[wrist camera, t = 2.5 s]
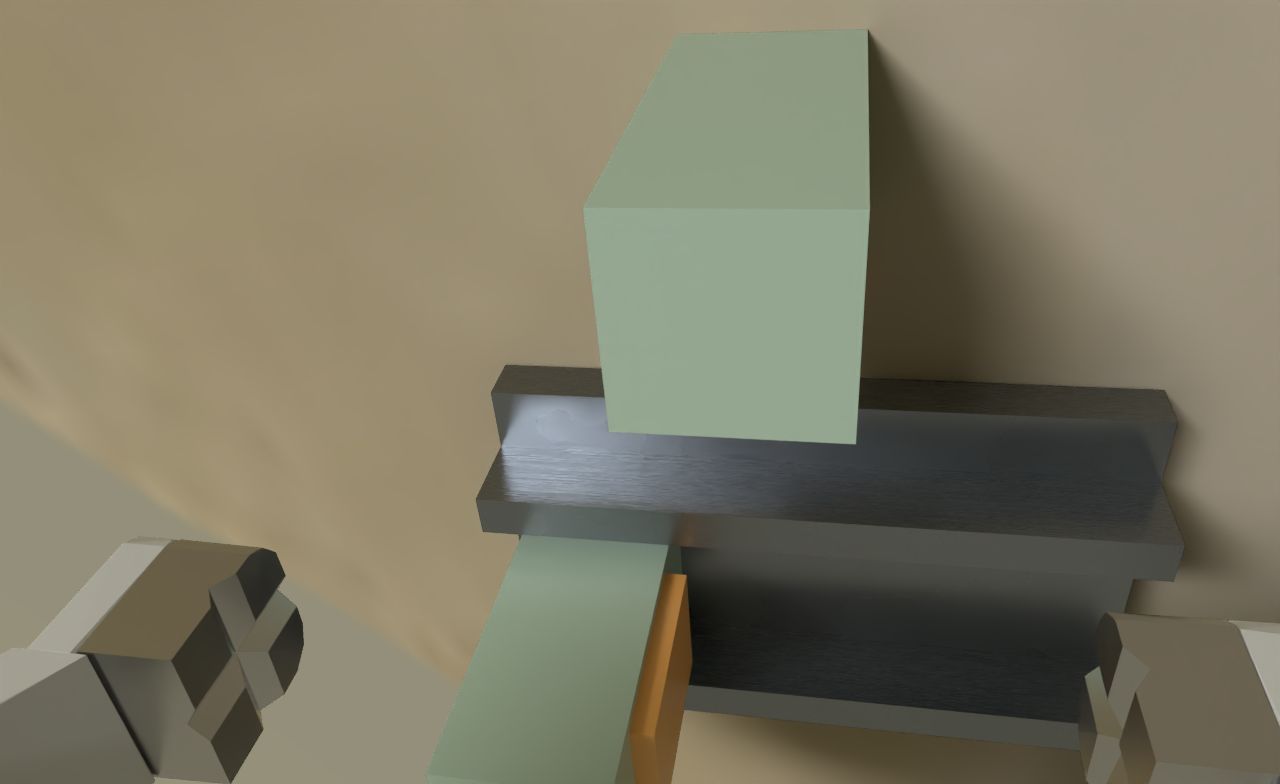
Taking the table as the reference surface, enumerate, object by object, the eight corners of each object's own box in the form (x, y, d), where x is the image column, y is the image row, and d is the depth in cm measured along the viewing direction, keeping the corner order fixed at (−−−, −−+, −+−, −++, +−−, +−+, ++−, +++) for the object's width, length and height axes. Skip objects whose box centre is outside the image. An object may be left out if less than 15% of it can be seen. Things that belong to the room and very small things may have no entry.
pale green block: (676, 34, 19) (583, 207, 13) (868, 29, 18) (870, 209, 12) (687, 229, 22) (612, 457, 15) (857, 230, 21) (854, 472, 14)
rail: (505, 364, 24) (463, 444, 22) (1163, 390, 22) (1204, 484, 19) (555, 641, 30) (526, 729, 28) (1083, 690, 27) (1105, 794, 25)
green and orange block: (554, 597, 27) (459, 878, 21) (537, 497, 25) (425, 774, 19) (703, 610, 26) (651, 905, 20) (697, 508, 24) (637, 799, 18)
